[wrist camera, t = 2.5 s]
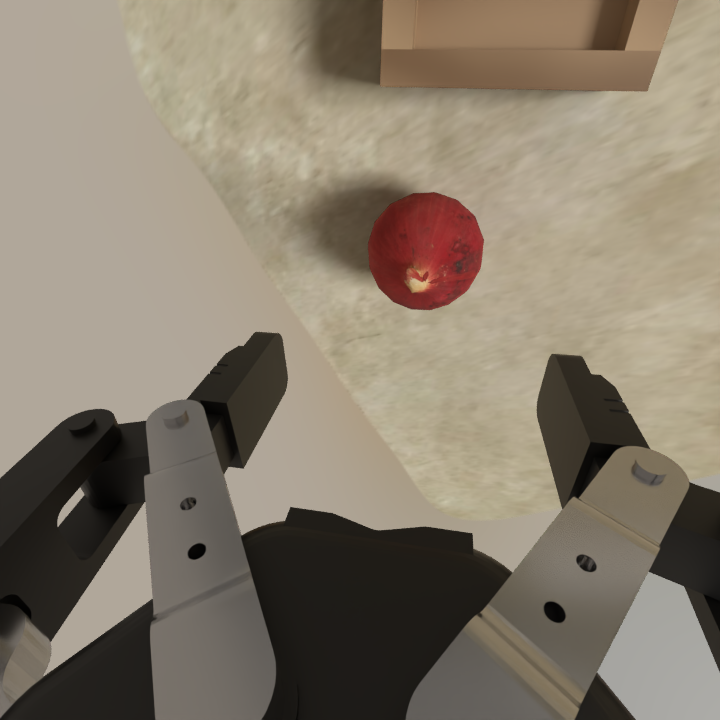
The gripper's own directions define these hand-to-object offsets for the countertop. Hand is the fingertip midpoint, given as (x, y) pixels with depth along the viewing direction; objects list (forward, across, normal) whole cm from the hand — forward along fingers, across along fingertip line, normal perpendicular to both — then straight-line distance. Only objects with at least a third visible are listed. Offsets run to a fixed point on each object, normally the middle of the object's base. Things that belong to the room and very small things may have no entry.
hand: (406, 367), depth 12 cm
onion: (+14, 0, 0) cm, 14 cm away
